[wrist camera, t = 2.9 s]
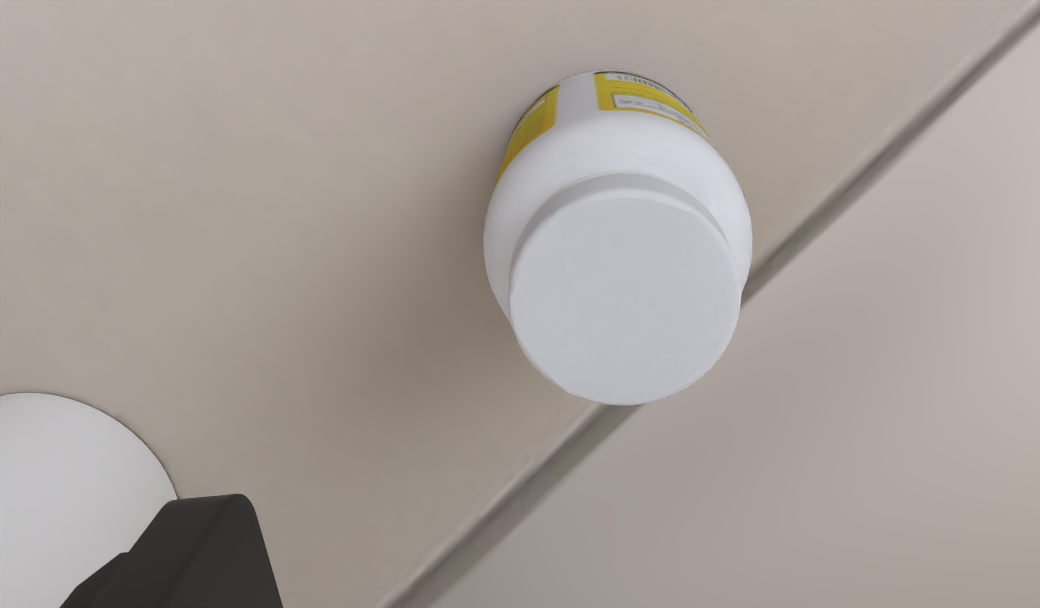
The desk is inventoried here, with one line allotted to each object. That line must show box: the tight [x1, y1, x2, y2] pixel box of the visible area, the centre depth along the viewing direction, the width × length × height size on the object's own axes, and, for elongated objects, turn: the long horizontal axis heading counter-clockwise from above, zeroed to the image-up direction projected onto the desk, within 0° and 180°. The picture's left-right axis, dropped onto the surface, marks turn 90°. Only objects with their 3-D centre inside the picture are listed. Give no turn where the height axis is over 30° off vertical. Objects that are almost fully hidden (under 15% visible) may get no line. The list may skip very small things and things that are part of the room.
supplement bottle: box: [483, 70, 753, 405], centre depth 20 cm, size 5×5×10 cm
